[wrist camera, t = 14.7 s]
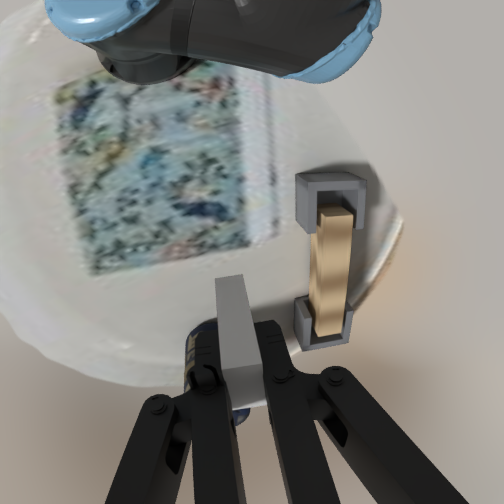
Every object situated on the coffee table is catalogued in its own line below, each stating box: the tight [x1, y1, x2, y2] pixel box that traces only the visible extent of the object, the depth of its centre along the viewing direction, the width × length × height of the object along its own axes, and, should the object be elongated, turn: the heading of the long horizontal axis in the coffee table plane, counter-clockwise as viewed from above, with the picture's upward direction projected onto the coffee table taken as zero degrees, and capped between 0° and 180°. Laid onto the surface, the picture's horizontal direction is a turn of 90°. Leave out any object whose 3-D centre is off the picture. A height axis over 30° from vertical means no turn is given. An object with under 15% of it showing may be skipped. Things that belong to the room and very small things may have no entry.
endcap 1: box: [295, 172, 367, 234], centre depth 43 cm, size 7×8×6 cm
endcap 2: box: [294, 296, 354, 352], centre depth 52 cm, size 7×8×6 cm
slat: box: [308, 203, 353, 337], centre depth 47 cm, size 20×4×6 cm, turn 3°
